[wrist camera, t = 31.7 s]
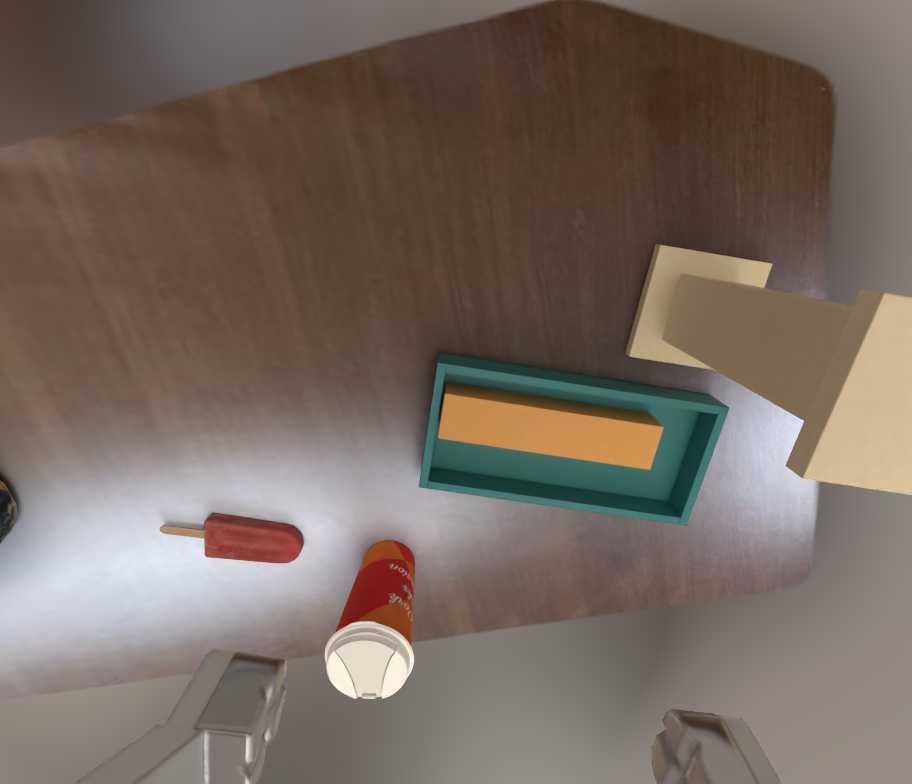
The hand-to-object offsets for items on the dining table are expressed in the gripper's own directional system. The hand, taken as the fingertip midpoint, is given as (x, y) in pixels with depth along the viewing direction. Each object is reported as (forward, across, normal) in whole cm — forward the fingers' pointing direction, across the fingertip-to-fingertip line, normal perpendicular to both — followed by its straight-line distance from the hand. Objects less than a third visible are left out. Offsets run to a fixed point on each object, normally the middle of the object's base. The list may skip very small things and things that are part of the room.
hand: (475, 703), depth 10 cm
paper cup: (+37, +4, +27) cm, 46 cm away
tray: (+37, -11, +8) cm, 40 cm away
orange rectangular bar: (+36, -9, +7) cm, 38 cm away
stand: (+37, -20, -6) cm, 43 cm away
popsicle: (+37, +21, +26) cm, 50 cm away
